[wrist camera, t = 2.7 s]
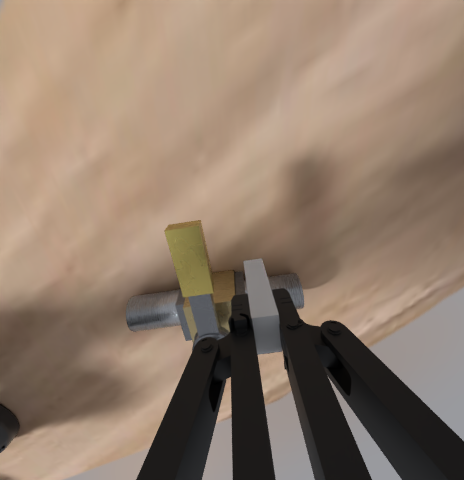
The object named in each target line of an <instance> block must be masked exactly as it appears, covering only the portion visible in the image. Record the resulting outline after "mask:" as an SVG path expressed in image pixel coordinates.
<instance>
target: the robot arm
mask: <svg viewBox="0 0 464 480" xmlns="http://www.w3.org/2000/svg"><path fill="white" fill-rule="evenodd" d="M243 262H244V269H245V277H246V284H247V291H248V293H247V294H240V295H234V296H233V298H232V300H231V316H230V318H229V320H228V324H229V329H230V332H229V334H228V335H227V336H225V337H223V338H221V339H219V340H216V339H215V338H213V337H205V338H203V339H201V340H199V341H198V342H197V344H196V345H195V347H194V349H193V351H192V354H191V356H190V358H189V361H188V363H187V365H186V367H185V370H184V372H183V374H182V377H181V379H180V381H179V383H178V386H177V388H176V390H175V393H174V395H173V397H172V399H171V402H170V404H169V406H168V409H167V411H166V413H165V415H164V418H163V420H162V422H161V425H160V427H159V429H158V431H157V434H156V436H155V438H154V441H153V443H152V445H151V447H150V450H149V452H148V454H147V457H146V459H145V461H144V463H143V466H142V468H141V470H140V473H139V475H138V477H137V479H136V480H202V476H203V472H204V468H205V464H206V460H207V455H208V452H209V448H210V444H211V440H212V436H213V431H214V428H215V424H216V420H217V416H218V412H219V408H220V404H221V400H222V396H223V392H224V388H225V383H226V379H227V378H229V377H231V401H232V454H233V455H232V458H233V480H275V473H274V466H273V459H272V452H271V445H270V439H269V432H268V425H267V418H266V411H265V404H264V397H263V390H262V383H261V376H260V369H259V362H258V356H257V355H258V354H266V353H274V352H282V350H283V355H284V366H285V369H286V370H287V374H288V377H289V381H290V385H291V389H292V393H293V396H294V400H295V404H296V408H297V412H298V416H299V420H300V424H301V428H302V431H303V435H304V439H305V443H306V447H307V451H308V455H309V459H310V462H311V466H312V470H313V474H314V478H315V480H372V479H371V476H370V474H369V472H368V470H367V467H366V465H365V462H364V460H363V458H362V455H361V454H360V451H359V449H358V446H357V444H356V441H355V439H354V437H353V435H352V432H351V430H350V428H349V425H348V423H347V421H346V418H345V416H344V414H343V411H342V409H341V407H340V404H339V402H338V400H337V397H336V395H335V393H334V390H333V388H332V386H331V383H330V381H329V379H328V377H329V378H330V380H331V381H332V382H333V384H334V385H335V386H336V388H337V389H338V391H339V392H340V393H341V395H342V396H343V398H344V399H345V400H346V402H347V403H348V405H349V406H350V407H351V409H352V410H353V412H354V413H355V414H356V416H357V417H358V419H359V420H360V421H361V423H362V424H363V426H364V427H365V428H366V429H367V431H368V433H369V434H370V435H371V437H372V438H373V439H374V441H375V442H376V444H377V445H378V447H379V448H380V449H381V451H382V452H383V454H384V455H385V456H386V458H387V459H388V461H389V462H390V463H391V465H392V466H393V467H394V469H395V470H396V472H397V473H398V475H399V476H400V477H401V479H402V480H464V441H463V440H462V439H461V438H460V437H459V436H458V435H457V434H456V433H455V432H454V431H452V429H450V428H449V427H448V426H447V425H446V424H445V423H444V422H443V421H442V420H441V419H440V418H439V417H438V416H437V415H436V414H435V413H434V412H433V411H432V410H431V409H430V408H429V407H428V406H427V405H426V404H425V403H424V402H423V401H422V400H421V399H420V398H419V397H418V396H417V395H415V393H414V392H412V391H411V390H410V389H409V388H408V387H407V386H406V385H405V384H404V383H403V382H402V381H401V380H400V379H399V378H398V377H397V376H396V375H395V374H394V373H393V372H392V371H391V370H390V369H389V368H388V367H387V366H386V365H385V364H384V363H383V362H382V361H381V360H380V359H379V358H378V357H377V356H375V355H374V354H373V353H372V352H371V351H370V350H369V349H368V348H367V347H366V346H365V345H364V344H363V343H362V342H361V341H360V340H359V339H358V338H357V337H356V336H355V335H354V334H353V333H352V332H351V331H350V330H349V329H348V328H347V327H346V326H345V325H343V324H342V323H340V322H337V321H331V320H330V321H326V322H324V323H322V325H321V327H319V326H312V325H308V324H306V323H304V321H303V320H302V319H300V317H299V315H298V313H297V310H296V308H295V305H294V303H293V301H292V298H291V296H290V293H289V292H288V291H287V290H286V289H285V288H280V289H273V290H271V287H270V284H269V280H268V277H267V274H266V271H265V267H264V264H263V261H262V258H261V259H254V260H247V261H243ZM327 375H328V376H327ZM18 431H19V424H18V421H17V419H16V418H15V416H14V415H13V414H12V413H11V412H10V411H8V410H7V409H6V408H4V407H3V406H1V405H0V453H1V452H2V451H3V450H4V449H5V448H7V446H8V445H9V444H10V443H11V441H12V440H13V438H14V437H15V436H16V434H17V433H18Z"/></svg>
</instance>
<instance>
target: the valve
mask: <svg viewBox="0 0 464 480" xmlns="http://www.w3.org/2000/svg"><path fill="white" fill-rule="evenodd" d="M212 275H213V280H214V293H212V295H213V299H214V304H215V308H216V313H217V317H218V322H219V326H222V327H224V328H226V329H227V330H228V331H229V332H230V329H229V324H228V320H229V318H230V316H231V300H232V298H233V296H234V295H240V294H247V293H248V291H247V284H246V280H244V277H243V271H239V272H235V276H234V270H230V271H223V272H216V273H212ZM268 280H269V284H270V287H271V290H273V289H280V288H285V289H286V290H287V291H288V292H289V293H290V296H291V298H292V301H293V303H294V305H295V308H296V309H302V308H303V307H304V296H303V290H302V286H301V282H300V279H299V277H298V275H297V274H296V273H291V274H284V275H277V276H270V277H268ZM126 320H127V324H128V327H129V329H130V330H131V331H133V332H136V331H144V330H151V329H158V328H165V327H172V326H180V325H181V326H182V330H183V333H184V336H185V339H186V341H188V340H192V341H193V343H194V337H195V334H196V332H197V328H196V324H195V321H194V317H193V313H192V310H191V306H190V302H189V299H188V297H183V295H182V291H181V289H180V290H173V291H166V292H159V293H152V294H145V295H138V296H133V297H131V298H130V300H129V301H128V304H127V308H126Z"/></svg>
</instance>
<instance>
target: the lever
mask: <svg viewBox="0 0 464 480" xmlns="http://www.w3.org/2000/svg"><path fill="white" fill-rule="evenodd" d="M165 235H166V238H167V242H168V245H169V249H170V252H171V256H172V259H173V263H174V267H175V270H176V274H177V277H178V281H179V284H180V288H181V291H182V295H183V297H188V299H189V302H190V306H191V310H192V313H193V317H194V321H195V324H196V328H197V332H196V334H195V337H194V343H193V349H194V347H195V345H196V344H197V342H198V341H199V340H201V339H203V338H205V337H213V338H215V339H216V340H219V339H221V338H223V337H225V336H227V335H228V334H229V331H228V330H227V329H226V328H224V327H222V326H219V322H218V317H217V313H216V308H215V304H214V299H213V295H212V293H214V280H213V275H212V271H211V266H210V261H209V257H208V252H207V247H206V243H205V238H204V233H203V229H202V224H201V220H198V221H191V222H185V223H178V224H172V225H168V227H167V228H166V229H165ZM193 349H192V351H193Z"/></svg>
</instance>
